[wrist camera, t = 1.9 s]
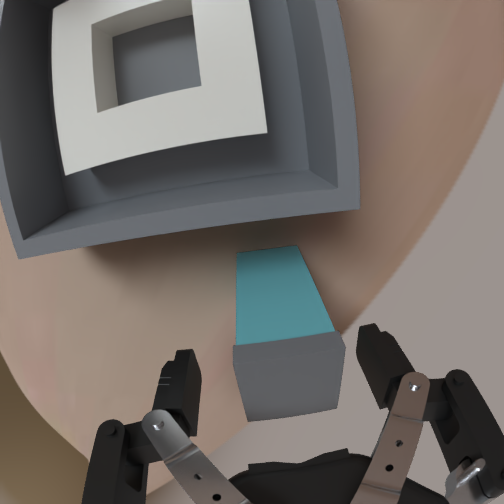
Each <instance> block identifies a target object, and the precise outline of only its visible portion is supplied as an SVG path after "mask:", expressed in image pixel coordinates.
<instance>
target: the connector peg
mask: <svg viewBox="0 0 504 504" xmlns="http://www.w3.org/2000/svg"><path fill="white" fill-rule="evenodd" d="M345 348H346V347H345V344H344V342H343V340H342V337H341V335H340V333H339V331H335V329H334V327H333V325H332V322H331V320H330V318H329V315H328V313H327V311H326V309H325V306H324V304H323V302H322V299H321V297H320V295H319V293H318V290H317V288H316V286H315V284H314V281H313V279H312V277H311V275H310V273H309V270H308V268H307V266H306V264H305V262H304V260H303V257H302V255H301V253H300V251H299V249H298V247H297V245H295V246H287V247H279V248H271V249H264V250H256V251H248V252H240V253H237V275H236V345H234V346H233V367H234V371H235V375H236V379H237V382H238V386H239V390H240V394H241V398H242V402H243V405H244V409H245V413H246V417H247V420H248V422H251V421H260V420H270V419H278V418H285V417H293V416H299V415H305V414H311V413H316V412H321V411H327V410H331V409H336V408H337V405H338V399H339V393H340V386H341V379H342V372H343V364H344V357H345Z"/></svg>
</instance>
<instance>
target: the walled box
mask: <svg viewBox="0 0 504 504" xmlns="http://www.w3.org/2000/svg"><path fill="white" fill-rule="evenodd" d="M0 200H1V204H2V208H3V212H4V215H5V219H6V222H7V226H8V229H9V232H10V236H11V239H12V242H13V245H14V248H15V250H16V253H17V256H18V259H24V258H29V257H34V256H39V255H44V254H49V253H54V252H60V251H65V250H70V249H76V248H81V247H87V246H93V245H98V244H104V243H110V242H116V241H122V240H128V239H134V238H140V237H147V236H153V235H159V234H166V233H172V232H179V231H186V230H193V229H200V228H207V227H214V226H221V225H229V224H236V223H244V222H251V221H259V220H267V219H275V218H283V217H292V216H301V215H309V214H318V213H327V212H337V211H347V210H357V209H360V175H359V153H358V138H357V125H356V114H355V104H354V95H353V87H352V79H351V72H350V66H349V59H348V53H347V47H346V42H345V36H344V31H343V26H342V21H341V17H340V12H339V8H338V3H337V0H0Z"/></svg>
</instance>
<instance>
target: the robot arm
mask: <svg viewBox="0 0 504 504" xmlns="http://www.w3.org/2000/svg"><path fill="white" fill-rule="evenodd" d="M356 355H357V359H358V362H359V364H360V366H361V368H362V370H363V372H364V374H365V377H366V379H367V381H368V384H369V386H370V388H371V390H372V393H373V395H374V397H375V399H376V402H377V404H378V406H379V409H383V408H386V407H387V408H388V410H389V414H388V416H387V419H386V421H385V424H384V427H383V429H382V432H381V434H380V437H379V439H378V441H377V444H376V446H375V448H374V450H373V452H372V454H371V457H369V456H365V455H361V454H352V453H351V454H349V452H348V449H347V448H345V449H341V450H337V451H333V452H328V453H324V454H322V455H319V456H317V457H314V458H312V459H310V460H307V461H305V462H302V463H297V464H296V463H283V462H266V463H256V464H248V468H249V470H246V471H243V472H241V473H238V474H237V475H235V476H233V477H232V478H230V479H229V480H227V479H226V478H225V477H224V476H223V475H222V473H221V472H220V471H219V470H218V469H217V468H216V467H215V466H214V465H213V464H212V463H211V462H210V461H209V459H208V458H207V457H206V456H205V455H204V454H203V453H202V451H201V450H200V449H199V448H198V447H197V446H196V445H194V444H193V443H192V442H191V440H190V439H189V436H197V425H198V414H199V403H200V393H201V383H202V378H201V371H200V368H199V365H198V362H197V359H196V356H195V353H194V351H193V349H186V350H177V351H176V355H175V360H174V361H167V363H166V364H165V365H164V367H163V368H162V371H161V375H160V379H159V383H158V387H157V391H156V395H155V399H154V404H153V408H152V411H151V412H149V413H147V414H146V415H145V416H144V418H143V420H142V421H140V422H136V423H132V424H127V425H123V424H122V423H121V422H120V421H118V420H114V419H112V420H107V421H105V422H103V423H102V424H101V425H100V426H99V428H98V430H97V434H96V438H95V442H94V446H93V450H92V454H91V459H90V463H89V467H88V472H87V477H86V482H85V487H84V492H83V498H82V504H145V500H146V488H147V476H148V466H149V463H153V462H157V461H162V460H163V461H164V463H165V465H166V466H167V468H168V469H169V471H170V472H171V473H172V475H173V476H174V477H175V479H176V480H177V481H178V483H179V484H180V485H181V487H182V488H183V489H184V490H185V492H186V493H187V494H188V495H189V496H190V498H191V499H192V500H193V501H194V503H196V504H488V503H489V502H491V501H492V500H494V499H495V498H497V497H498V496H500V495H501V494H503V493H504V435H503V433H502V431H501V429H500V427H499V425H498V424H497V422H496V420H495V418H494V416H493V414H492V413H491V411H490V409H489V407H488V406H487V404H486V402H485V400H484V399H483V397H482V395H481V394H480V392H479V390H478V389H477V387H476V386H475V384H474V382H473V381H472V379H471V378H470V376H469V375H468V374H467V373H466V372H465V371H462V370H458V369H456V370H452V371H450V372H449V373H448V374H447V375H446V377H445V378H441V379H428V378H427V377H426V376H425V375H424V374H422V373H419V372H416V371H415V370H414V368H413V367H412V365H411V363H410V362H409V360H408V359H407V357H406V356H405V354H404V352H403V351H402V349H401V348H400V346H399V345H398V343H397V341H396V340H395V338H394V337H393V336H392V335H390V334H389V333H388V332H386V331H384V332H380V330H379V328H378V327H377V325H376V324H375V323H373V324H368V325H364V326H360V327H359V332H358V340H357V347H356ZM423 421H429V422H430V424H431V426H432V428H433V431H434V433H435V435H436V438H437V440H438V443H439V445H440V447H441V450H442V453H443V455H444V458H445V460H446V463H447V466H448V468H449V471H450V474H449V475H448V477H447V479H446V482H445V486H446V494H445V497H444V496H442V495H440V494H439V493H436V492H434V491H432V490H430V489H428V488H426V487H424V486H422V485H420V484H418V483H416V482H415V481H413V480H411V479H409V478H407V477H406V476H407V474H408V471H409V468H410V465H411V463H412V460H413V457H414V454H415V451H416V448H417V444H418V441H419V438H420V434H421V430H422V427H423Z"/></svg>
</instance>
